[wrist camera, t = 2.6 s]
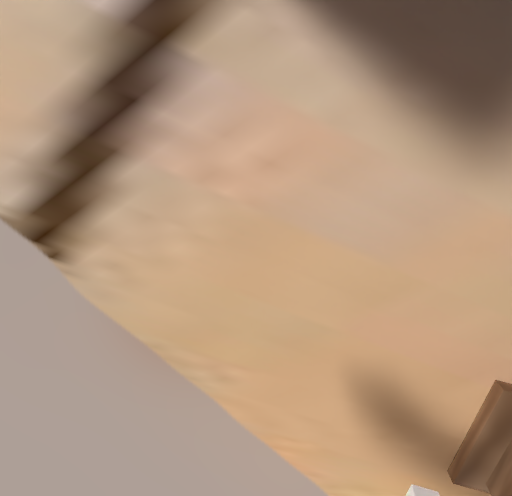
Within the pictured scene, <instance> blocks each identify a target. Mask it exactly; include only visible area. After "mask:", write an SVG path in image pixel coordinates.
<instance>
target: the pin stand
mask: <svg viewBox="0 0 512 496" xmlns="http://www.w3.org/2000/svg"><path fill="white" fill-rule="evenodd" d="M448 473H449V475H450V477H451V480H452V482H453V484H457V485H461V486H465V487H468V488H472V489H476V490H479V491H483V492H487V493H491V495H492V496H512V384H509V383H505V382H501V381H497V380H495V382H494V384H493V386H492V388H491V390H490V392H489V393H488V395H487V397H486V399H485V401H484V403H483V405H482V407H481V409H480V410H479V412H478V414H477V416H476V418H475V420H474V422H473V424H472V426H471V428H470V429H469V431H468V433H467V435H466V437H465V439H464V441H463V443H462V445H461V447H460V448H459V450H458V452H457V454H456V456H455V458H454V460H453V462H452V464H451V465H450V467H449V469H448Z"/></svg>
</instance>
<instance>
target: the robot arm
mask: <svg viewBox="0 0 512 496" xmlns="http://www.w3.org/2000/svg"><path fill="white" fill-rule="evenodd" d="M406 496H440V495H439V493H438V492H437V491H433V490H430V489H426V488H423V487H420V486H416V485H413V484H411V486H410V488H409V490H408V492H407V494H406Z"/></svg>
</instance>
